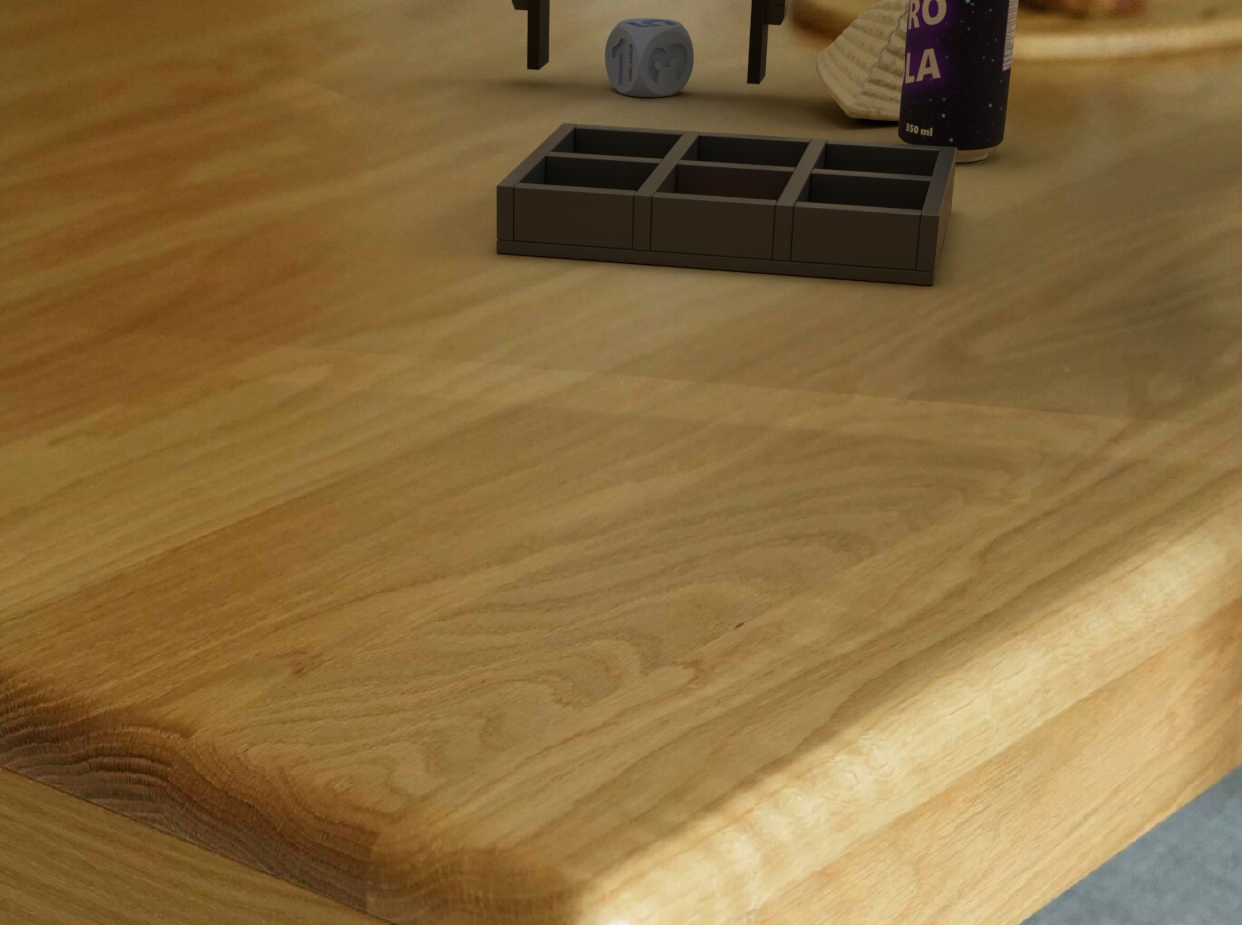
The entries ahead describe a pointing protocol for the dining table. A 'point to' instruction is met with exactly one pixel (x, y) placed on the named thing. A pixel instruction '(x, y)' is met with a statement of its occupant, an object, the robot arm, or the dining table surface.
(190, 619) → the dining table surface
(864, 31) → the seashell
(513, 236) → the grid
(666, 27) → the decorative dice
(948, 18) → the beverage can
